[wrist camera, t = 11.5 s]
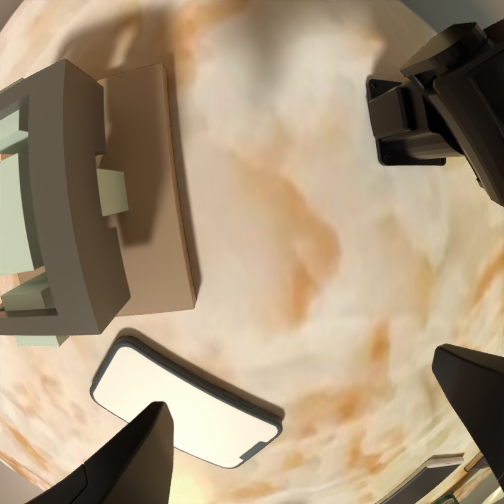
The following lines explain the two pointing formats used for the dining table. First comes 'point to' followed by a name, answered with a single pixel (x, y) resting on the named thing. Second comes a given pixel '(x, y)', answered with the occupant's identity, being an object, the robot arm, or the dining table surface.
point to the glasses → (67, 204)
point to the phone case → (183, 404)
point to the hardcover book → (477, 463)
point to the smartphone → (422, 481)
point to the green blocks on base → (106, 202)
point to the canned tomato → (446, 499)
